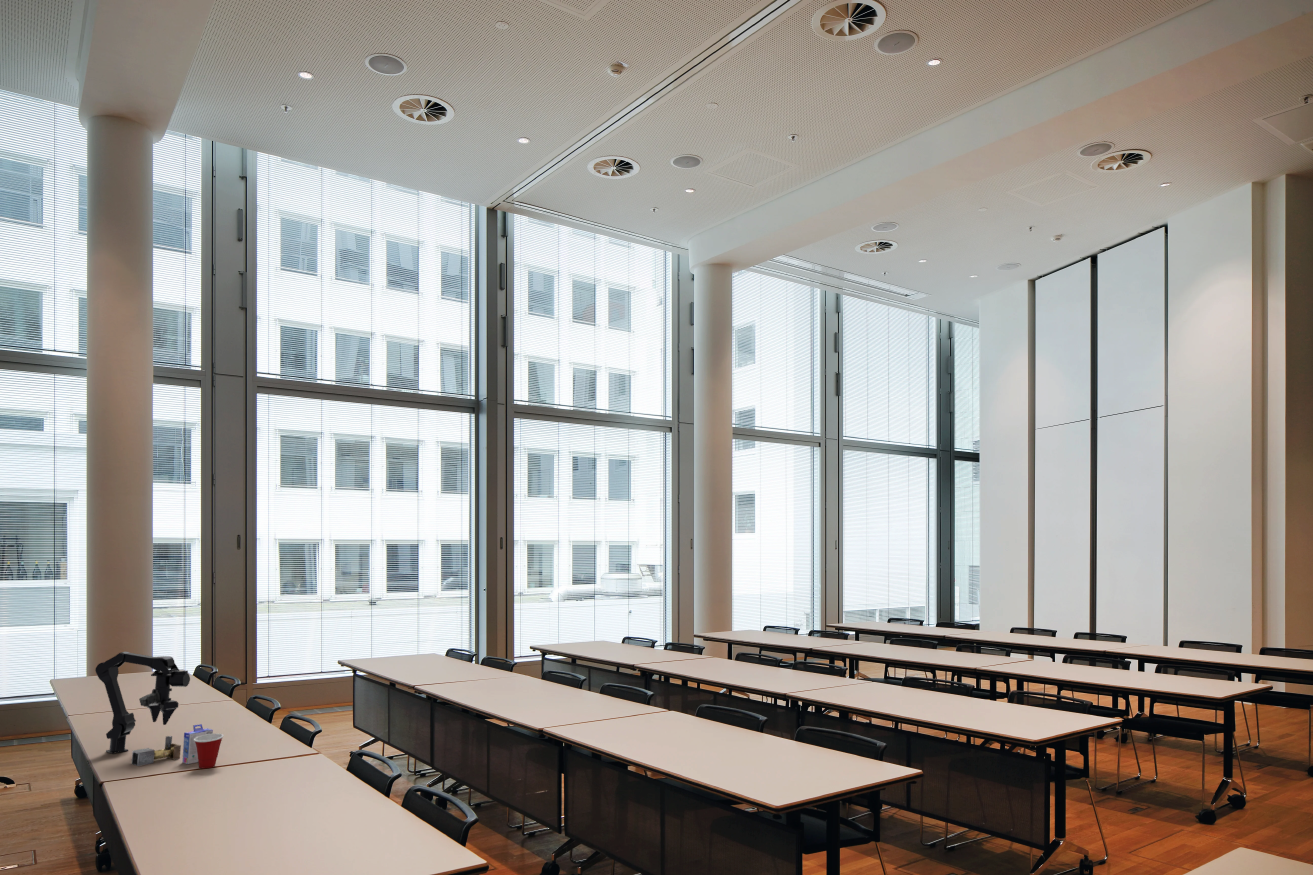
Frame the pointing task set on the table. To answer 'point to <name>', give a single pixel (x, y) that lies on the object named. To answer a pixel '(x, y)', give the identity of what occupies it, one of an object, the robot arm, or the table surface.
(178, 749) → the socket block
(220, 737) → the plastic cup
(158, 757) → the gold elongated piece
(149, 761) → the grey hammer head
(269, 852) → the table surface
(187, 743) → the ink cartridge box
